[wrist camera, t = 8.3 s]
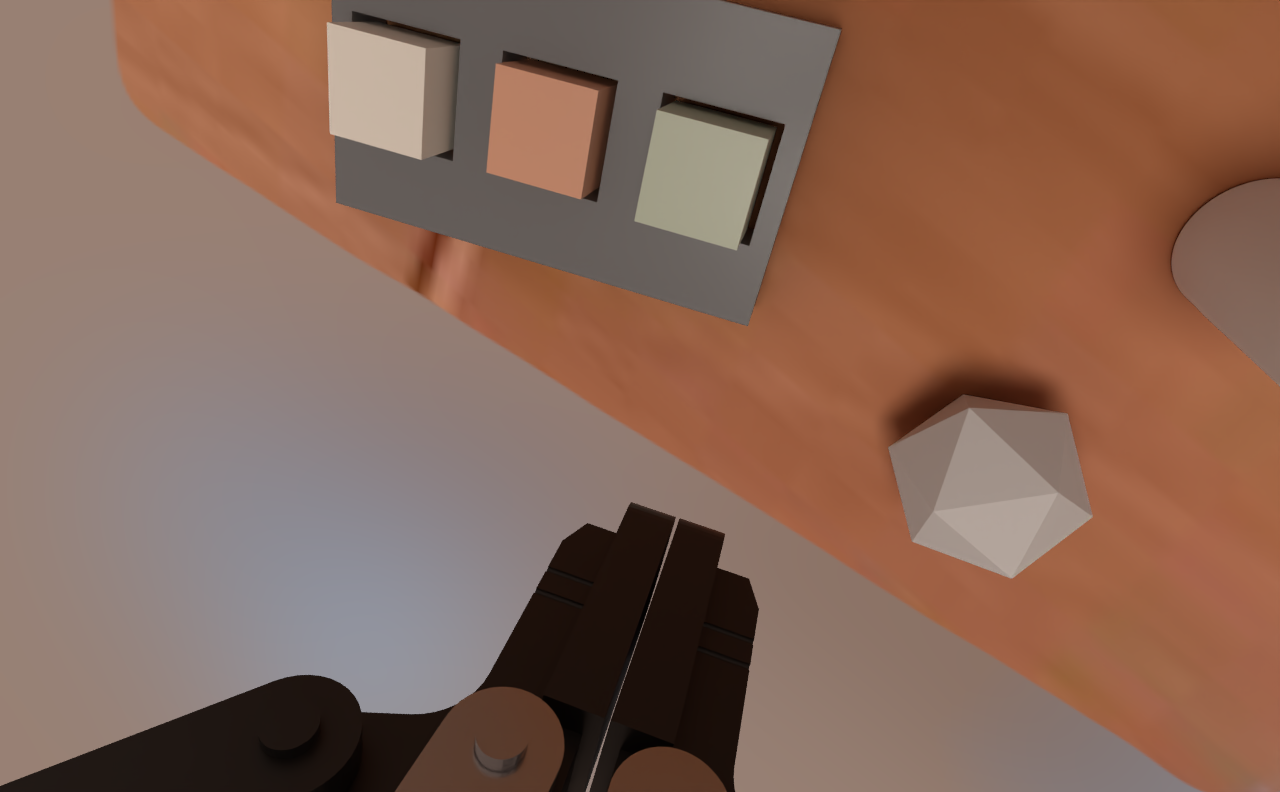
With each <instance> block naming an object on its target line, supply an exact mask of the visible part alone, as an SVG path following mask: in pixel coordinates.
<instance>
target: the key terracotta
mask: <svg viewBox="0 0 1280 792" xmlns="http://www.w3.org/2000/svg"><path fill="white" fill-rule="evenodd" d="M617 85H618V82H616V81H613V80H609V79H605V78H601V77H597V76H594V75H590V74H586V73H582V72H578V71H574V70H571V69H567V68H563V67H559V66H555V65H552V64H548V63H544V62H540V61H536V60H533V59H525V60H517V61H510V62H503V63H496V68H495V79H494V91H493V102H492V113H491V125H490V136H489V147H488V159H487V170H486V173H490V174H493V175H497V176H500V177H504V178H507V179H511V180H514V181H518V182H521V183H525V184H528V185H532V186H535V187H539V188H542V189H546V190H549V191H553V192H556V193H560V194H563V195H567V196H570V197H574V198H577V199H582V198H584V197H585V196H587V195H588V194H590V193H591V192H593V191H594V190H596V189H597V188H599V187H600V183H601V177H602V171H603V166H604V160H605V154H606V148H607V143H608V137H609V131H610V125H611V119H612V114H613V108H614V102H615V96H616V90H617Z"/></svg>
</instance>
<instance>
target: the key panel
mask: <svg viewBox="0 0 1280 792" xmlns="http://www.w3.org/2000/svg"><path fill="white" fill-rule="evenodd" d="M386 20H389V21H393V22H397V23H401V24H404V25H408V26H412V27H416V28H420V29H424V30H427V31H431V32H435V33H439V34H443V35H446V36H450V37H454V38H458V39H461V41H460V57H459V73H458V89H457V104H456V120H455V136H454V149H452V150H449V151H446V152H443V153H440V154H438V155H435V156H432V157H429V158H426V159H423V160H420V159H416V158H413V157H409V156H406V155H402V154H399V153H395V152H392V151H388V150H385V149H381V148H378V147H374V146H371V145H367V144H364V143H360V142H357V141H353V140H350V139H346V138H343V137H340V136H336V135H335V168H336V203H339V204H343V205H346V206H349V207H353V208H356V209H359V210H363V211H366V212H369V213H373V214H376V215H379V216H383V217H386V218H389V219H393V220H396V221H399V222H403V223H406V224H409V225H413V226H416V227H419V228H423V229H426V230H429V231H433V232H436V233H439V234H442V235H446V236H449V237H452V238H456V239H459V240H462V241H466V242H469V243H472V244H476V245H479V246H482V247H486V248H489V249H492V250H496V251H499V252H502V253H506V254H509V255H512V256H516V257H519V258H522V259H526V260H529V261H532V262H536V263H539V264H542V265H546V266H549V267H552V268H556V269H559V270H562V271H566V272H569V273H572V274H576V275H579V276H582V277H586V278H589V279H592V280H596V281H599V282H602V283H606V284H609V285H612V286H616V287H619V288H622V289H626V290H629V291H632V292H636V293H639V294H642V295H646V296H649V297H652V298H656V299H659V300H662V301H666V302H669V303H672V304H676V305H679V306H682V307H686V308H689V309H692V310H696V311H699V312H702V313H706V314H709V315H712V316H716V317H719V318H722V319H726V320H729V321H732V322H736V323H739V324H742V325H746V326H748V324H749V321H750V318H751V315H752V312H753V309H754V306H755V302H756V299H757V296H758V293H759V290H760V287H761V283H762V280H763V277H764V274H765V271H766V268H767V264H768V261H769V258H770V255H771V252H772V249H773V245H774V242H775V239H776V236H777V233H778V230H779V226H780V223H781V220H782V217H783V214H784V211H785V207H786V204H787V201H788V198H789V195H790V192H791V188H792V185H793V182H794V179H795V176H796V173H797V169H798V166H799V163H800V160H801V157H802V153H803V150H804V147H805V144H806V141H807V138H808V134H809V131H810V128H811V125H812V122H813V119H814V115H815V112H816V109H817V106H818V103H819V100H820V96H821V93H822V90H823V87H824V84H825V81H826V77H827V74H828V71H829V68H830V65H831V62H832V58H833V55H834V52H835V49H836V46H837V43H838V39H839V36H840V33H841V30H842V29H841V28H837V27H833V26H829V25H824V24H820V23H816V22H812V21H808V20H804V19H800V18H796V17H791V16H787V15H783V14H779V13H775V12H771V11H767V10H763V9H759V8H754V7H750V6H746V5H742V4H738V3H734V2H730V1H726V0H332V22H381V23H384V24H386ZM527 57H530V58H534V59H538V60H542V61H546V62H549V63H553V64H557V65H561V66H565V67H568V68H572V69H576V70H580V71H584V72H587V73H591V74H595V75H599V76H603V77H607V78H610V79H614V80H618V85H617V90H616V96H615V102H614V108H613V114H612V119H611V125H610V131H609V137H608V143H607V148H606V154H605V160H604V166H603V171H602V177H601V183H600V187H599V188H597V189H596V190H594V191H593V192H591V193H590V194H588V195H587V196H585V197H584V198H582V199H577V198H574V197H570V196H567V195H563V194H560V193H556V192H553V191H549V190H546V189H542V188H539V187H535V186H532V185H528V184H525V183H521V182H518V181H514V180H511V179H507V178H504V177H500V176H497V175H493V174H490V173H486V170H487V159H488V147H489V136H490V125H491V113H492V102H493V91H494V79H495V68H496V63H503V62H510V61H517V60H525V59H527ZM675 96H679V97H683V98H687V99H690V100H694V101H698V102H702V103H706V104H709V105H713V106H717V107H721V108H725V109H729V110H732V111H736V112H740V113H744V114H748V115H751V116H755V117H759V118H763V119H767V120H770V121H774V122H778V123H782V124H785V128H784V131H783V135H782V138H781V141H780V145H779V148H778V151H777V155H776V158H775V161H774V165H773V168H772V172H771V175H770V178H769V182H768V185H767V188H766V192H765V195H764V198H763V202H762V205H761V209H760V212H759V215H758V219H757V222H756V225H755V229H751V228H747V231H746V233H745V235H744V237H743V239H742V241H741V243H740V245H739V247H738V249H737V251H736V250H733V249H729V248H726V247H722V246H719V245H716V244H712V243H709V242H705V241H702V240H698V239H695V238H691V237H688V236H684V235H681V234H677V233H674V232H670V231H667V230H663V229H660V228H656V227H653V226H649V225H646V224H642V223H639V222H635V221H634V220H635V215H636V210H637V205H638V200H639V195H640V190H641V185H642V180H643V175H644V170H645V165H646V161H647V156H648V151H649V146H650V141H651V136H652V131H653V126H654V121H655V116H656V111H657V110H658V109H660V108H662V107H664V106H666V105H668V104H670V103H672V102H674V98H675Z"/></svg>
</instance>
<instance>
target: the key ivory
mask: <svg viewBox="0 0 1280 792" xmlns="http://www.w3.org/2000/svg"><path fill="white" fill-rule="evenodd" d="M327 44H328V82H329V121H330V134H333V135H336V136H340V137H343V138H346V139H350V140H353V141H357V142H360V143H364V144H367V145H371V146H374V147H378V148H381V149H385V150H388V151H392V152H395V153H399V154H402V155H406V156H409V157H413V158H416V159H420V160H423V159H426V158H429V157H432V156H435V155H438V154H440V153H443V152H446V151H449V150H452V149H454V136H455V120H456V104H457V89H458V73H459V57H460V43H457V42H453V41H449V40H445V39H441V38H438V37H434V36H430V35H426V34H422V33H419V32H415V31H411V30H407V29H403V28H400V27H396V26H392V25H388V24H384V23H381V22H327Z"/></svg>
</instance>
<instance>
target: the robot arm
mask: <svg viewBox="0 0 1280 792" xmlns="http://www.w3.org/2000/svg"><path fill="white" fill-rule="evenodd" d="M675 518H676V517H674V516H670V515H668V514H665V513H662V512H659V511H656V510H653V509H650V508H647V507H644V506H641V505H638V504H635V503H632V502H631V503H630V505H629V507H628V509H627V511H626V513H625V515H624V518H623V520H622V522H621V524H620V526H619V529H618V531H617V533H614V532H611V531H608V530H606V529H603V528H600V527H597V526H594V525H591V524H588V523H587V524H586V525H584V526H583V527H581V528H580V529H579V530H577V531H576V532H574V533H573V534H571V535H570V536H568V537H567V538H566V539H564V540H563V541H562V542H561V544H560V546H559V548H558V550H557V552H556V553H555V555H554V557H553V559H552V561H551V563H550V564H549V566H548V569H547V572H545V574H544V575H543V577H542V579H541V581H540V583H539V584H538V586H537V589H536V591H535V593H534V594H533V595H532V597H531V599H530V601H529V603H528V604H527V606H526V608H525V610H524V612H523V614H522V615H521V617H520V619H519V621H518V623H517V624H516V626H515V628H514V630H513V632H512V634H511V635H510V637H509V639H508V641H507V643H506V644H505V646H504V648H503V650H502V652H501V654H500V655H499V657H498V659H497V661H496V663H495V664H494V666H493V668H492V670H491V672H490V674H489V675H488V677H487V678H486V680H485V681H484V683H483V684H482V685H481V686H480V687H479V688H478V689H477V690H476V691H475V692H474V693H473V694H471V695H469V696H467V697H466V698H464V699H463V700H461V701H460V702H459V703H458V704H456V705H454V706H452V707H449V708H447V709H444V710H441V711H437V712H433V713H426V714H390V713H367V712H361V710H360V706H359V703H358V701H357V700H356V698H355V696H354V695H353V694H352V693H351V692H350V690H349V689H348V688H346V687H345V686H343V685H342V684H341V683H339V682H336V681H334V680H332V679H330V678H326V677H322V676H315V675H297V676H292V677H286V678H283V679H280V680H276V681H273V682H271V683H268V684H266V685H263V686H260V687H257V688H255V689H252V690H250V691H247V692H245V693H242V694H239V695H237V696H234V697H231V698H229V699H226V700H224V701H221V702H218V703H216V704H213V705H210V706H208V707H206V708H203V709H200V710H197V711H195V712H192V713H190V714H187V715H184V716H182V717H179V718H177V719H174V720H172V721H169V722H166V723H164V724H161V725H158V726H156V727H153V728H150V729H148V730H145V731H143V732H140V733H137V734H135V735H132V736H130V737H127V738H124V739H122V740H119V741H117V742H114V743H111V744H109V745H106V746H104V747H101V748H98V749H96V750H93V751H91V752H88V753H85V754H83V755H80V756H77V757H75V758H72V759H70V760H67V761H65V762H62V763H59V764H57V765H54V766H51V767H49V768H46V769H43V770H41V771H38V772H36V773H33V774H30V775H28V776H25V777H23V778H20V779H18V780H15V781H12V782H10V783H7V784H4V785H2V786H0V792H586V788H587V786H588V783H589V779H590V777H591V774H592V771H593V768H594V765H595V762H596V759H597V756H598V753H599V751H600V748H601V745H602V742H603V739H604V736H605V733H606V730H607V727H608V724H609V721H610V719H611V715H612V712H613V709H614V707H615V704H616V701H617V698H618V695H619V692H620V689H621V686H622V683H623V681H624V683H623V686H622V689H621V692H620V695H619V698H618V701H617V704H616V707H615V710H614V713H613V716H612V719H611V722H610V725H609V728H608V732H607V735H606V738H605V742H604V745H603V748H602V752H601V755H600V758H599V762H598V765H597V768H596V772H595V775H594V779H593V782H592V785H591V788H590V792H735V789H734V778H733V776H734V765H735V758H736V752H737V746H738V739H739V732H740V726H741V720H742V714H743V707H744V700H745V694H746V688H747V681H748V675H749V666H750V662H751V656H752V648H753V641H754V636H755V629H756V623H757V617H758V611H759V608H758V606H757V602H756V599H755V596H754V593H753V590H752V587H751V584H750V581H749V579H748V578H745V577H742V576H739V575H737V574H734V573H731V572H728V571H725V570H722V569H719V568H717V566H718V562H719V558H720V554H721V550H722V545H723V541H724V537H725V534H724V533H721V532H718V531H716V530H712V529H709V528H707V527H704V526H701V525H698V524H695V523H692V522H689V521H686V520H683V519H679V522H678V525H677V528H676V531H675V534H674V537H673V540H672V543H671V545H670V548H669V551H668V554H667V557H666V560H665V563H664V566H663V569H662V572H661V575H660V578H659V581H658V584H657V586H656V589H655V593H654V595H653V598H652V601H651V604H650V600H651V597H652V594H653V591H654V588H655V585H656V581H657V578H658V574H659V571H660V568H661V565H662V562H663V558H664V555H665V552H666V548H667V545H668V542H669V538H670V535H671V532H672V528H673V525H674V522H675ZM649 604H650V607H649ZM648 607H649V610H648ZM647 610H648V613H647ZM646 613H647V616H646ZM645 616H646V619H645ZM644 619H645V622H644ZM643 622H644V625H643ZM642 625H643V628H642ZM641 628H642V631H641ZM640 631H641V633H640ZM639 634H640V636H639ZM638 637H639V639H638ZM637 640H638V642H637ZM636 642H637V645H636ZM635 645H636V648H635ZM634 648H635V651H634ZM633 651H634V654H633ZM632 654H633V657H632ZM631 657H632V660H631ZM630 660H631V663H630ZM629 663H630V666H629ZM628 666H629V669H628V672H627V668H628ZM626 672H627V675H626ZM625 675H626V677H625ZM624 678H625V680H624Z"/></svg>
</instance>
